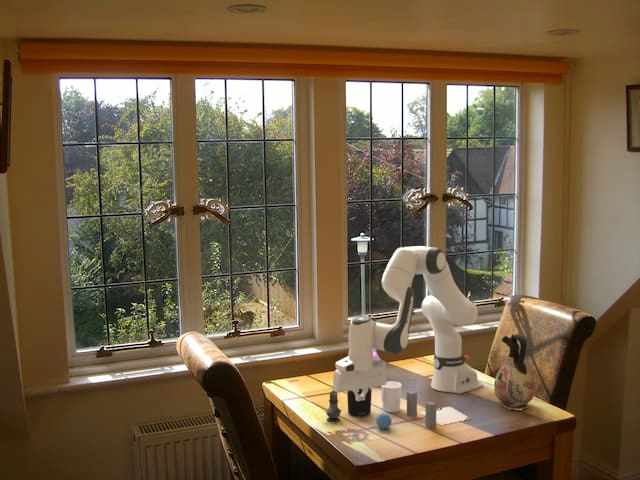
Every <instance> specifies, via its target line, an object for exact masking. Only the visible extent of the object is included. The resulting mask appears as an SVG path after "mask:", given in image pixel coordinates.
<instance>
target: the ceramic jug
mask: <svg viewBox="0 0 640 480" xmlns="http://www.w3.org/2000/svg"><path fill="white" fill-rule="evenodd" d="M501 342H502V343H504V344H505V345H507V347H509V354H508V355H507V357H506V359H505V360H504V361H503V363H502V364H501V366H500V367H499V368H498V371H497V373H496V375H495V379H494V385H493V386H494V389H493V390H494V393H495V396H496V398H497V399H498V400H499V401H500V403H501V405H502V407H503V406H505V407H507V408H511V409H524V408H526V407H527V408H528V404H529V403H530V402H531V401H532V400H533V399H534V396H535V391H536V387H535V382H534V378H533V375H532V372H531V371H530V369H529V368H528V366H527V364H526V363H525V362H524V361H525V358H526V354H527V341H526V338H525V336H522V335H521V334H511V336H510V337H509V336H507V335H505V336H503V337H502V339H501ZM518 342H519V343H518ZM505 407H504V408H505ZM507 408H506V409H507ZM527 408H526V409H527ZM511 409H510V410H511ZM524 410H525V409H524Z"/></svg>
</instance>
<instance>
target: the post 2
mask: <svg viewBox="0 0 640 480" xmlns="http://www.w3.org/2000/svg"><path fill="white" fill-rule="evenodd" d="M436 409H437V403H435V402H434V401H428V402H425V411H426V412H425V416H424V417H425V424H424V427H426V428H427V429H429V430H431V429H435V428H437V423H436Z"/></svg>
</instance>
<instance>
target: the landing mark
mask: <svg viewBox="0 0 640 480" xmlns="http://www.w3.org/2000/svg"><path fill="white" fill-rule="evenodd" d="M441 408H442V410H440V408H438V409H439V410H440V411H439V410H437V411H436V425H437V424H438V425H439V426H440V425H442V426H446V425H445V424H447V425H451V424H450V423H451V422H452V421H453V423H452V424H455V423H454V422H456V421H457V423H460V422H459V421H462V422H465V421H464V420H465V419H466V418H467V417H468V416H467V415H466V414H464V413H462V412H460V411H459V410H456V409H455V408H453V407H452V406H447V407H441ZM425 412H426V410H424V411H419V413H420V414H421V415H422V416H424V417H425ZM438 418H439V419H438ZM450 420H451V421H450Z"/></svg>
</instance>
